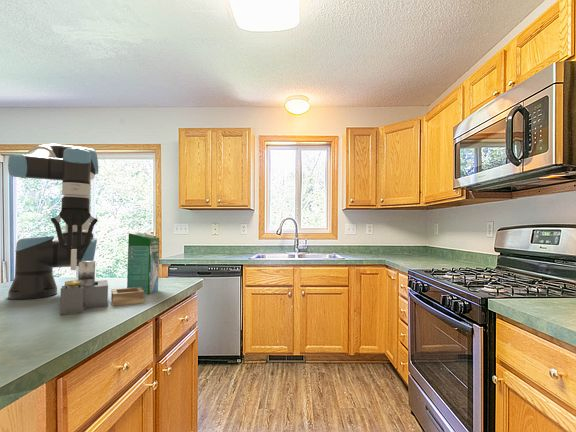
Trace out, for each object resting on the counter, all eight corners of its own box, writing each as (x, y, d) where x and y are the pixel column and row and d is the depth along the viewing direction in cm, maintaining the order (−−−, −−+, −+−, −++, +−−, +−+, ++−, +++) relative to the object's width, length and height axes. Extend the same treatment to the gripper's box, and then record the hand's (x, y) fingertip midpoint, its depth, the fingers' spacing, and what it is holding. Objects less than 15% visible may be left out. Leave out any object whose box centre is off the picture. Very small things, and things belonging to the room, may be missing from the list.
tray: (111, 300, 120) (111, 289, 120) (140, 297, 125) (140, 287, 125) (112, 305, 111) (112, 294, 111) (143, 302, 116) (144, 291, 117)
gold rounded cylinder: (64, 302, 104) (65, 281, 104) (80, 300, 106) (81, 280, 107) (63, 305, 100) (64, 283, 101) (80, 303, 103) (80, 282, 103)
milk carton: (148, 294, 130) (150, 232, 131) (126, 294, 130) (128, 232, 131) (158, 290, 139) (159, 232, 140) (137, 290, 139) (139, 232, 140)
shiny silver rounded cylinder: (77, 295, 114) (79, 261, 115) (94, 293, 117) (95, 260, 117) (77, 297, 110) (78, 262, 110) (94, 296, 112) (95, 261, 113)
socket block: (64, 302, 115) (65, 280, 116) (106, 298, 122) (107, 277, 122) (59, 315, 99) (60, 289, 99) (108, 310, 106) (108, 285, 106)
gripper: (49, 194, 98) (47, 272, 98) (99, 197, 105) (96, 270, 104) (52, 196, 104) (50, 269, 104) (99, 198, 111) (96, 266, 111)
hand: (73, 269), depth 104 cm, fingers closed
